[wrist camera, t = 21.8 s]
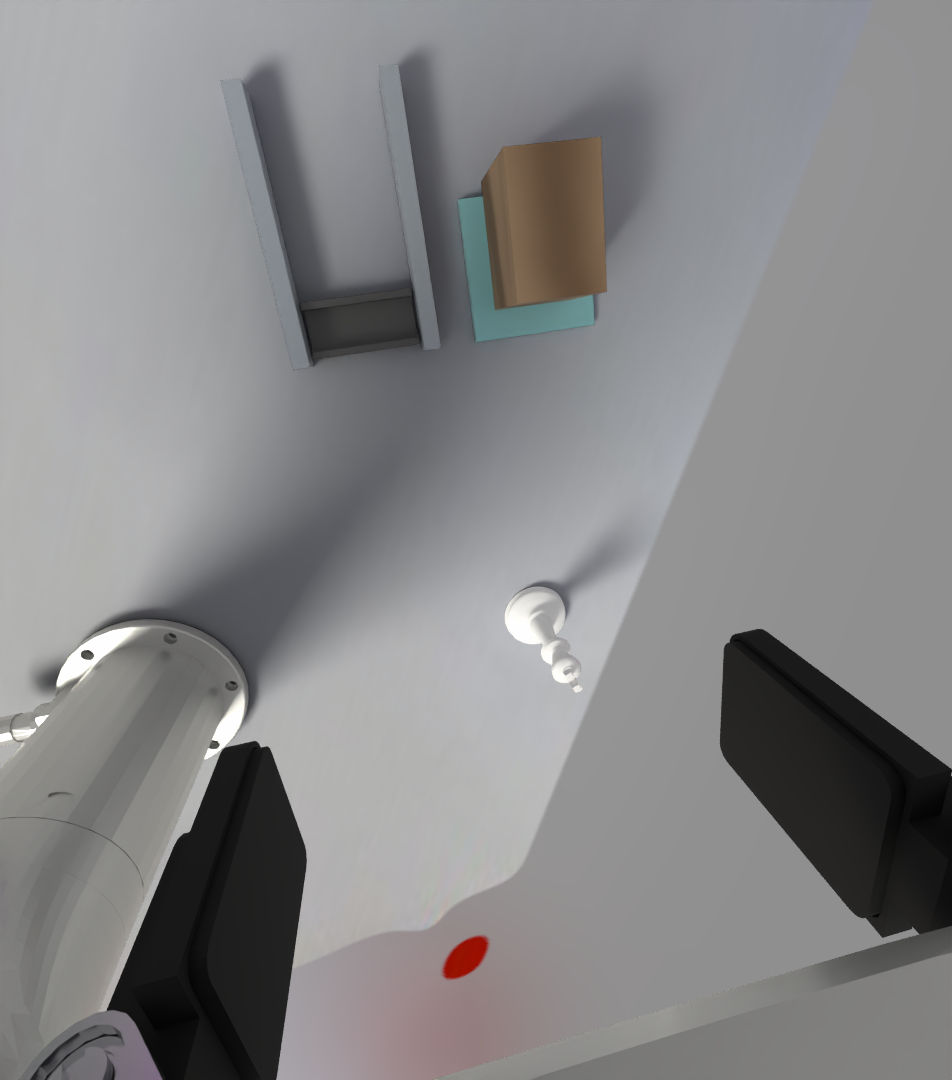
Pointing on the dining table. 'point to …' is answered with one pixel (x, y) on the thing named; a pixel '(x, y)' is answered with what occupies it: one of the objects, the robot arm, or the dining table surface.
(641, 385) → the dining table surface
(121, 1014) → the robot arm
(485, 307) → the pad
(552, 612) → the chess piece
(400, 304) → the grey twin-rail rack
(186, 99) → the dining table surface
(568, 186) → the walnut block
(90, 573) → the dining table surface
